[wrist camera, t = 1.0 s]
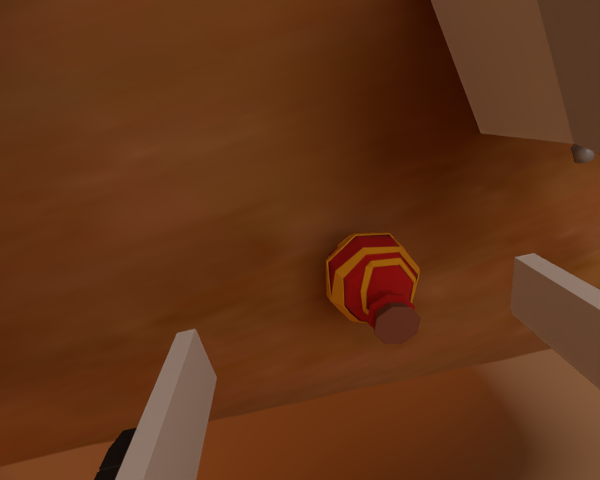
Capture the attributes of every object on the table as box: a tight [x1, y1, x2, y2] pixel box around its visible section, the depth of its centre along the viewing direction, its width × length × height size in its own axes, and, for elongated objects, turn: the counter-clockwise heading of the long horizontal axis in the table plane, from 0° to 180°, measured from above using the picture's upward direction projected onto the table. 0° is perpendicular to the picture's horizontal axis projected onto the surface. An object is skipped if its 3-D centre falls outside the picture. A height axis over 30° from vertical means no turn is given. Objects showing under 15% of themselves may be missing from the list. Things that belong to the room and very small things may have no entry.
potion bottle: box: [326, 232, 421, 344], centre depth 34 cm, size 10×10×15 cm
